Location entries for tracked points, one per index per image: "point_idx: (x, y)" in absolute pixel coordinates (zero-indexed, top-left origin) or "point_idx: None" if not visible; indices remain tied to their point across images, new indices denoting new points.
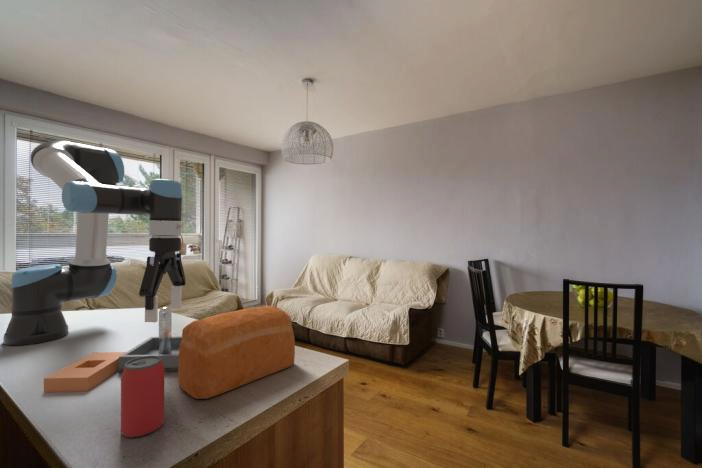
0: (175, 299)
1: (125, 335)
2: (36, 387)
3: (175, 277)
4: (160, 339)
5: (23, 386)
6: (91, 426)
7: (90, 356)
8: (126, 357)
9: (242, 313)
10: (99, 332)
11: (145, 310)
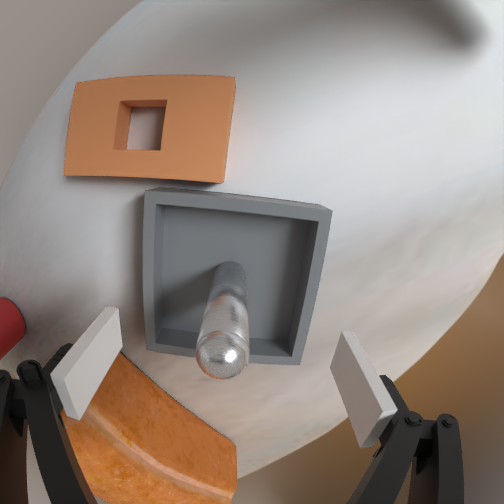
0: (348, 377)
1: (449, 94)
2: (117, 56)
3: (356, 492)
4: (210, 291)
5: (130, 30)
6: (4, 254)
7: (199, 87)
8: (144, 212)
9: (108, 502)
10: (464, 37)
11: (84, 334)
